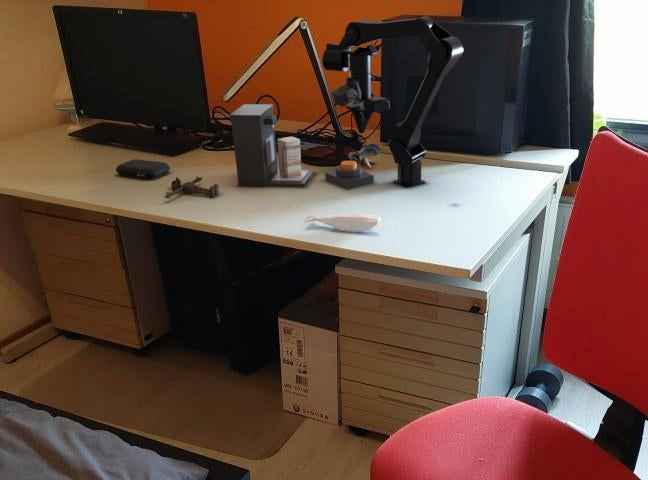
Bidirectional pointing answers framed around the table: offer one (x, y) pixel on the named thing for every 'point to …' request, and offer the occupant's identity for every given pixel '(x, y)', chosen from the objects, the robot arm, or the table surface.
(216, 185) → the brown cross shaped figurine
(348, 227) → the white fish figurine
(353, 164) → the button
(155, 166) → the carrying case
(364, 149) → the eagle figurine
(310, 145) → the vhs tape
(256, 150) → the coffee maker
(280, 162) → the cream carton
